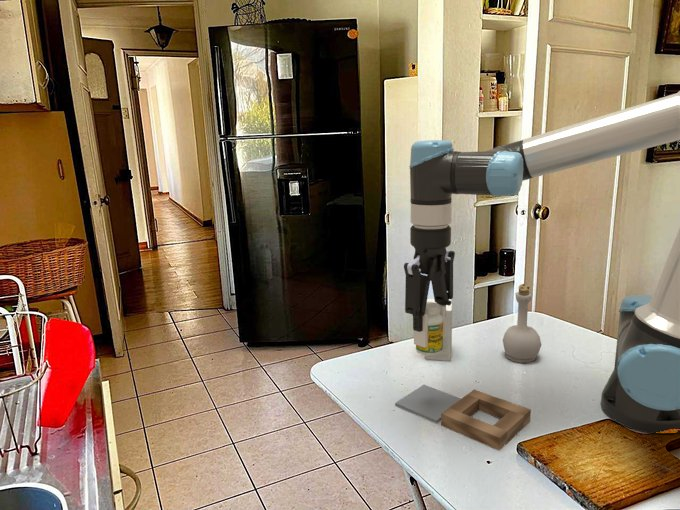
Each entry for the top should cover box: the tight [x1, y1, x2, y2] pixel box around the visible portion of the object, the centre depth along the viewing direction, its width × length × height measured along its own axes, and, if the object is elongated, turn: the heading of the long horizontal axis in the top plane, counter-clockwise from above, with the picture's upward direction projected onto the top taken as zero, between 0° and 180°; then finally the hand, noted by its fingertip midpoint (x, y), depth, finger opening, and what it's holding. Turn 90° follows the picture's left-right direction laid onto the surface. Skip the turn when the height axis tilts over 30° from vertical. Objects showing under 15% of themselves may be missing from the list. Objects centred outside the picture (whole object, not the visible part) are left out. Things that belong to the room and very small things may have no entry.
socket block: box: [440, 389, 532, 451], centre depth 99 cm, size 12×12×2 cm
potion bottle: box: [502, 283, 542, 364], centre depth 124 cm, size 9×9×18 cm
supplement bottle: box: [415, 302, 443, 356], centre depth 103 cm, size 5×5×10 cm
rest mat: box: [394, 384, 462, 424], centre depth 107 cm, size 10×10×1 cm
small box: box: [424, 298, 453, 362], centre depth 128 cm, size 8×6×13 cm
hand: (429, 339), depth 104 cm, fingers closed on supplement bottle, 5 cm apart
